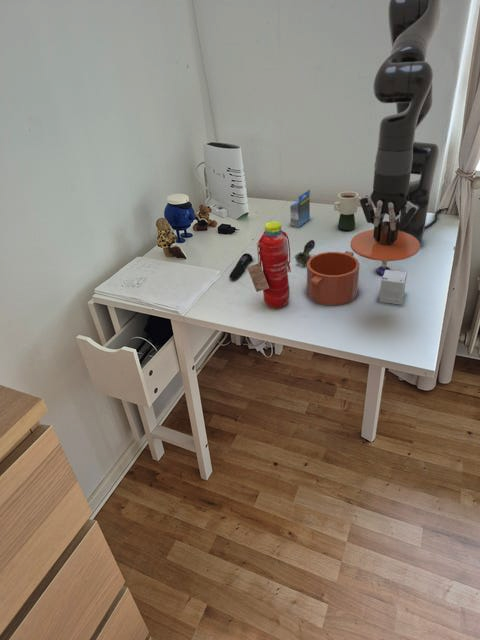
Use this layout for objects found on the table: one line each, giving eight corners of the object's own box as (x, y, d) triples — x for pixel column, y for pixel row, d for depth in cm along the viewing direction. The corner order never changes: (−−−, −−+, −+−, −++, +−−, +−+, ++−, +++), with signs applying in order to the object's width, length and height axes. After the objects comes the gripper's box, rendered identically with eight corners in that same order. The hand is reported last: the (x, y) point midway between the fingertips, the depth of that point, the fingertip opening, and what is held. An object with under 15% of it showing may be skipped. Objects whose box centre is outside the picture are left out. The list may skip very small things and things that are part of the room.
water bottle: (257, 316, 124) (250, 235, 109) (248, 302, 130) (241, 223, 116) (296, 306, 126) (295, 225, 112) (286, 292, 133) (283, 214, 118)
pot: (292, 300, 129) (291, 272, 124) (328, 270, 141) (328, 244, 135) (336, 315, 121) (337, 286, 115) (370, 283, 133) (372, 255, 127)
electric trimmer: (226, 281, 141) (225, 273, 140) (243, 258, 153) (242, 250, 151) (237, 283, 140) (236, 274, 138) (253, 259, 151) (253, 251, 150)
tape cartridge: (301, 217, 177) (301, 187, 169) (310, 219, 175) (310, 189, 167) (290, 226, 171) (289, 195, 164) (299, 228, 169) (298, 197, 162)
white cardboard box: (404, 294, 126) (407, 271, 122) (401, 305, 122) (404, 282, 118) (382, 290, 129) (385, 269, 124) (378, 301, 124) (381, 279, 120)
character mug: (354, 221, 169) (356, 188, 161) (364, 228, 163) (367, 194, 156) (328, 227, 167) (329, 194, 159) (337, 235, 161) (339, 200, 153)
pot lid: (337, 253, 105) (339, 229, 101) (369, 228, 114) (371, 205, 111) (401, 270, 96) (405, 244, 93) (429, 242, 105) (434, 217, 102)
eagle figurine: (321, 263, 143) (320, 246, 149) (310, 249, 139) (308, 232, 145) (302, 273, 147) (301, 256, 153) (290, 260, 143) (289, 243, 149)
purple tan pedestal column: (392, 269, 138) (399, 219, 128) (391, 277, 134) (398, 226, 125) (376, 268, 139) (382, 219, 130) (375, 275, 136) (380, 225, 126)
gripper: (432, 167, 93) (419, 242, 103) (370, 159, 100) (365, 229, 110) (417, 178, 88) (406, 255, 98) (354, 169, 96) (350, 241, 106)
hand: (384, 241), depth 104 cm, fingers closed on pot lid, 2 cm apart
